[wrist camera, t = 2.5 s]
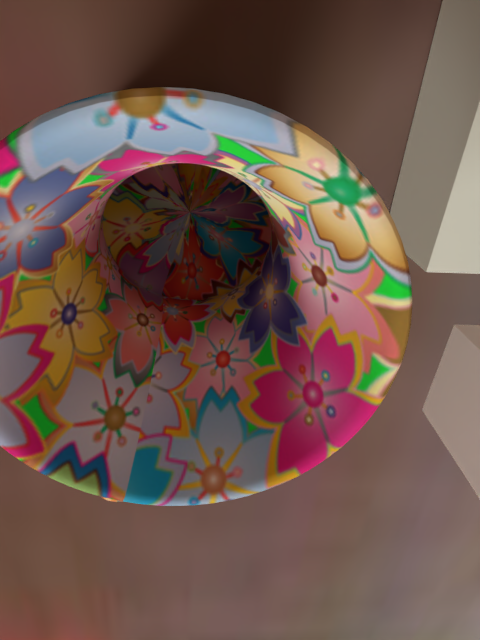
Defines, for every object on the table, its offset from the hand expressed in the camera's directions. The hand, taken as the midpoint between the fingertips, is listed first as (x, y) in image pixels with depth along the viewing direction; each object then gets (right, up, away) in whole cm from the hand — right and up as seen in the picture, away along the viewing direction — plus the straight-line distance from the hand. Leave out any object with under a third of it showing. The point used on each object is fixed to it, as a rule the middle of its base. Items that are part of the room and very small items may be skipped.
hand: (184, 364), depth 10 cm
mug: (-1, +5, +8) cm, 9 cm away
